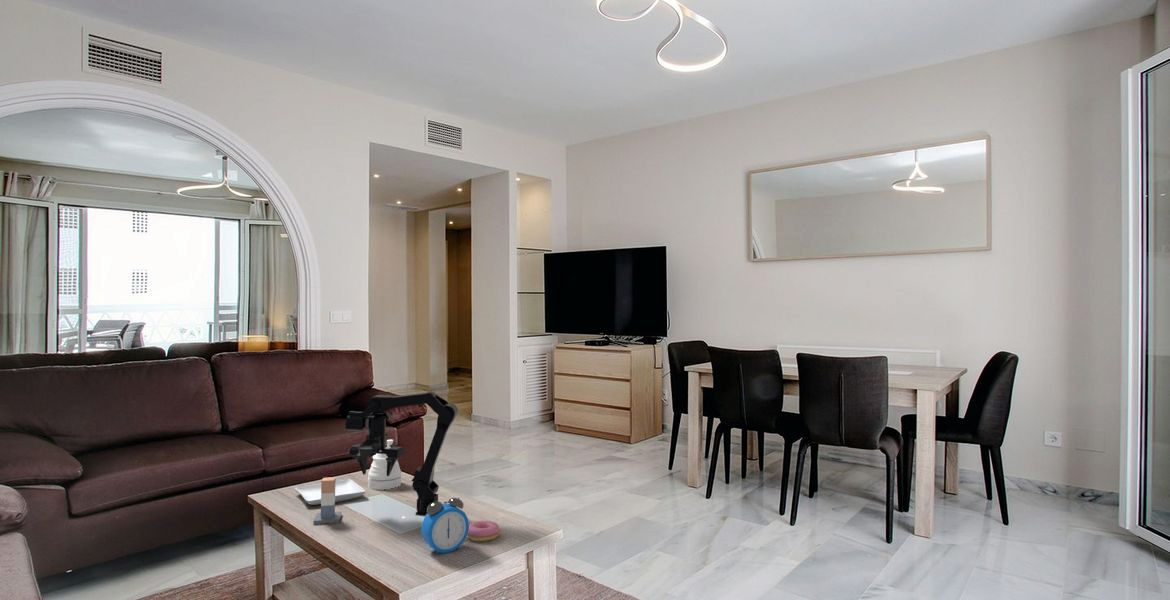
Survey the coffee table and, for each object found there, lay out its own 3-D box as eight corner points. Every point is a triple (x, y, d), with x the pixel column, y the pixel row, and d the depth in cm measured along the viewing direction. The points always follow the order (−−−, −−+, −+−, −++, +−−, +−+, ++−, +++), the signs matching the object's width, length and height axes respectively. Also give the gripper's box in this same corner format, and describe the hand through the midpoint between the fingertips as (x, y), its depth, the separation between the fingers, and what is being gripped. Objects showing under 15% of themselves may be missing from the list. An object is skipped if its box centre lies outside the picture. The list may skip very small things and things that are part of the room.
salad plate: (293, 495, 240) (293, 486, 240) (350, 486, 252) (350, 477, 252) (306, 510, 223) (307, 500, 223) (367, 499, 235) (367, 490, 235)
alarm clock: (428, 558, 181) (429, 506, 181) (419, 551, 186) (420, 501, 186) (469, 548, 189) (470, 498, 189) (460, 542, 194) (460, 493, 194)
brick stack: (334, 513, 214) (335, 477, 215) (333, 517, 211) (334, 480, 211) (322, 514, 213) (323, 477, 214) (320, 518, 210) (321, 480, 210)
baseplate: (341, 515, 217) (341, 511, 217) (339, 522, 209) (339, 519, 209) (316, 516, 215) (316, 513, 215) (313, 524, 207) (313, 521, 207)
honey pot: (393, 479, 263) (394, 436, 263) (406, 486, 253) (407, 441, 253) (363, 484, 254) (363, 440, 255) (375, 491, 245) (376, 445, 245)
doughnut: (489, 545, 192) (489, 532, 192) (458, 540, 195) (458, 526, 196) (505, 534, 202) (506, 521, 202) (476, 529, 206) (476, 516, 206)
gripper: (339, 434, 215) (339, 479, 215) (389, 437, 211) (388, 483, 211) (358, 428, 226) (357, 471, 226) (405, 430, 222) (404, 474, 222)
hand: (376, 475), depth 221 cm, fingers open, 9 cm apart
